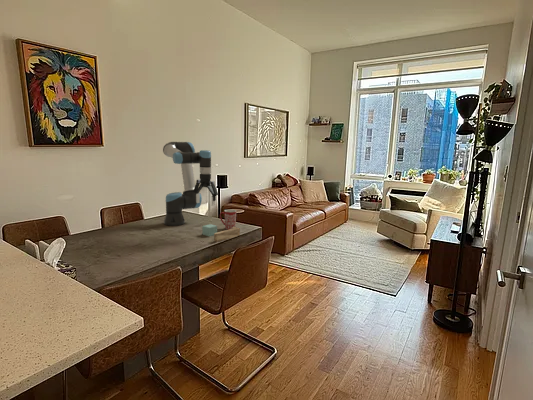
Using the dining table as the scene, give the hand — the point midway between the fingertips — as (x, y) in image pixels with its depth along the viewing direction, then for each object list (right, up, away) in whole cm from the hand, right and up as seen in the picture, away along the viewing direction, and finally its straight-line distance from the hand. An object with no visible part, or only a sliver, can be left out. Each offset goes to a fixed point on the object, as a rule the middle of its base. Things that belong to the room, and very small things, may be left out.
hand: (205, 204), depth 218 cm
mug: (+14, -18, +12) cm, 26 cm away
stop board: (+16, -22, -11) cm, 29 cm away
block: (+4, -21, -3) cm, 21 cm away
